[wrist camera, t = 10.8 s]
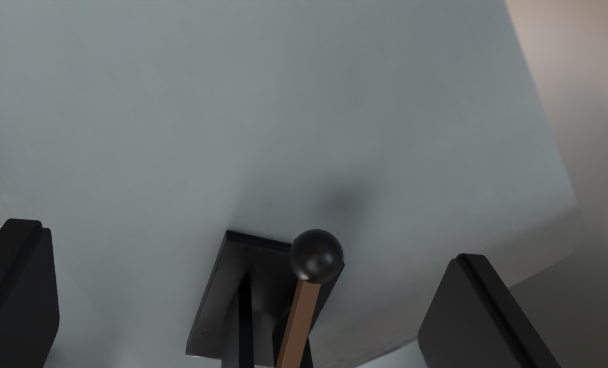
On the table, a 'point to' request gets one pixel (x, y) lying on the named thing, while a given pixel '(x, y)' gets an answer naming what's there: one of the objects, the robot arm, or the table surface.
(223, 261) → the black lever stand
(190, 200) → the table surface
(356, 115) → the table surface
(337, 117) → the table surface
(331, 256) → the lever
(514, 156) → the table surface
